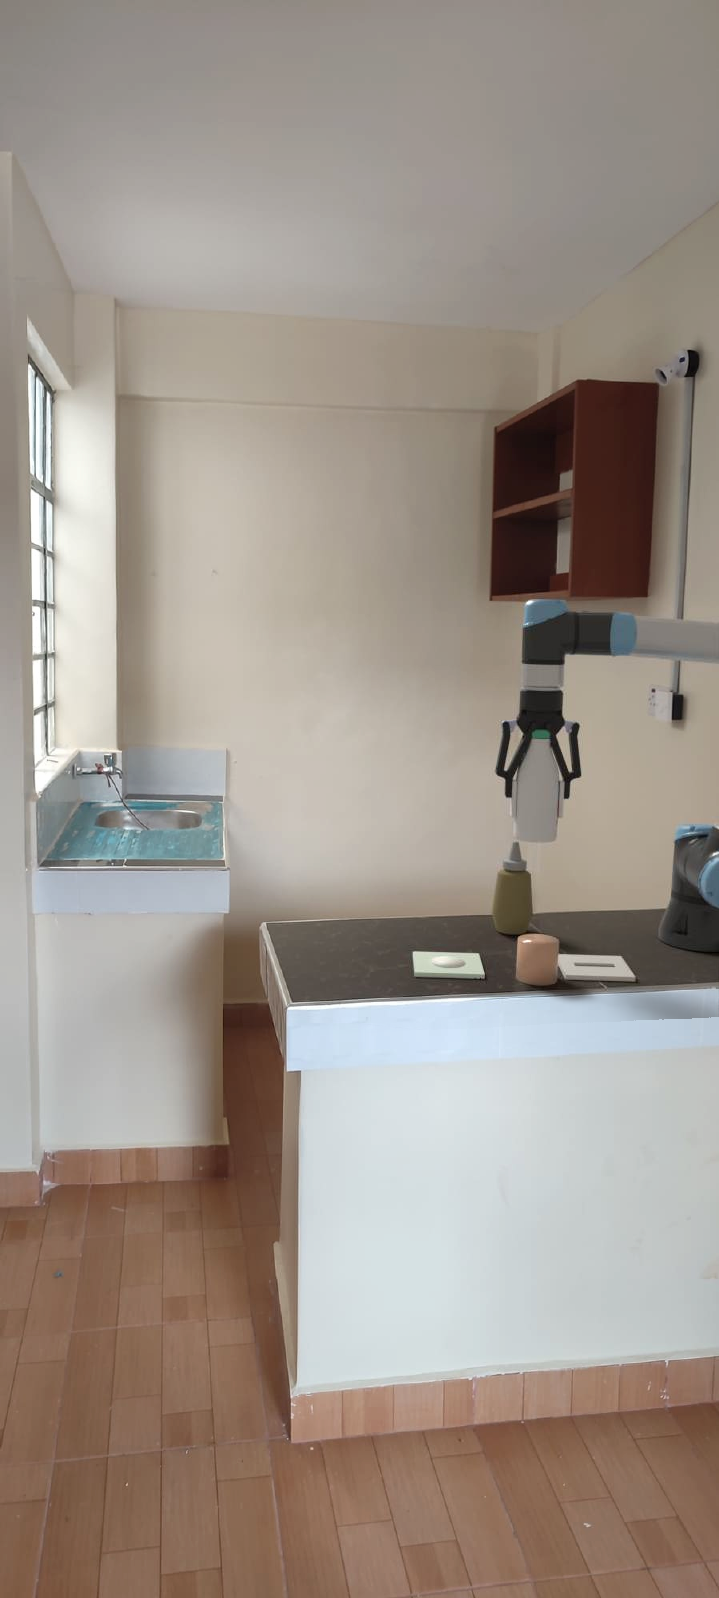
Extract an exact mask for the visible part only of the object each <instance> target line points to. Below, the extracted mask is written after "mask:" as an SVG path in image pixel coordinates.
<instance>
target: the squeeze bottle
mask: <svg viewBox="0 0 719 1598" xmlns="http://www.w3.org/2000/svg"><path fill="white" fill-rule="evenodd" d="M527 864H528V862H527V860H526V859H523V858H522V853H521V847H520V842H519V841H512V844H511V846H510V851H509V855H508V858H504V859H503V860H502V869H500V870H499V871H497V875H496V882H495V888H494V896H493V902H492V906H491V907H492V909H491V916H492V918H493V922H494V926H495V929H496V932H498V933H501V934H504V935H512V936H513V935H514V936H515V935H524V934H525V933H527V930H528V928H529V926H530V923H531V920H532V918H533V915H534V909H533V907H534V906H533V891H532V874H531V873H530V871H528V870H527Z"/></svg>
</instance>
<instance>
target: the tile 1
mask: <svg viewBox="0 0 719 1598" xmlns="http://www.w3.org/2000/svg"><path fill="white" fill-rule="evenodd" d="M412 963H413V973H414V977H415V978H416V977H417V978H418V977H419V978H446V979H447V978H448V979H450V978H451V979H475V978H476V979H475V980H477V979H478V980H479V979H480V978H481V979H483V980H485V977H486V974H485V971H484V967H483V963H482V960H481V957H480V953H476V952H446V951H444V952H443V951H440V952H439V951H413V950H412Z"/></svg>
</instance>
